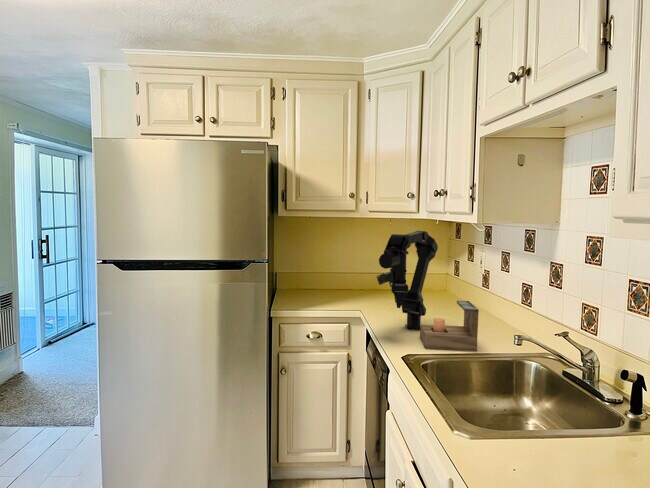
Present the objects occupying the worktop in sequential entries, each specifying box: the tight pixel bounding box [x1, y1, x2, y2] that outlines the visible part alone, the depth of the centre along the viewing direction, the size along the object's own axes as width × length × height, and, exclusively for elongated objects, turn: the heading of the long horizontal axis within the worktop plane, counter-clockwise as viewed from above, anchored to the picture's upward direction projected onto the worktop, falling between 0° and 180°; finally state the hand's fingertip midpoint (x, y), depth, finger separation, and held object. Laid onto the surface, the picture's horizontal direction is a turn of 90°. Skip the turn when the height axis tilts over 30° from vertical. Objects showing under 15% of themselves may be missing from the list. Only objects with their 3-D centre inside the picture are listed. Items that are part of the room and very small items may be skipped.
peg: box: [433, 317, 446, 332], centre depth 153 cm, size 4×4×8 cm
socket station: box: [419, 300, 479, 352], centre depth 153 cm, size 14×18×15 cm
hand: (397, 305), depth 162 cm, fingers open, 9 cm apart
